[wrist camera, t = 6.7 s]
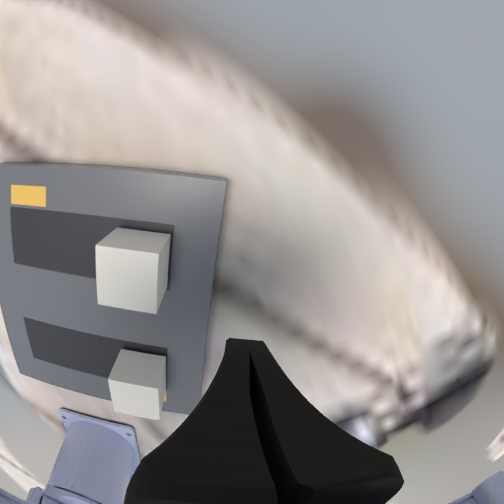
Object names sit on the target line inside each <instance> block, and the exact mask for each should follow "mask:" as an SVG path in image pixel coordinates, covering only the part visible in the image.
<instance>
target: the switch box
mask: <svg viewBox="0 0 504 504" xmlns="http://www.w3.org/2000/svg"><path fill="white" fill-rule="evenodd" d="M226 184H227V178H222V177H215V176H207V175H199V174H191V173H182V172H173V171H164V170H154V169H143V168H132V167H119V166H105V165H89V164H68V163H35V162H4V163H0V305H1V310H2V314H3V318H4V322H5V326H6V330H7V333H8V337H9V340H10V344H11V347H12V350H13V354H14V357H15V360H16V363H17V366H18V369H19V371H20V373H21V374H24V375H26V376H29V377H32V378H34V379H37V380H40V381H43V382H46V383H49V384H52V385H55V386H59V387H62V388H65V389H68V390H72V391H75V392H79V393H83V394H86V395H90V396H94V397H98V398H102V399H106V400H111V401H112V399H111V394H110V389H109V383H108V378H109V375H110V373H111V371H112V368H113V366H114V364H115V361H116V359H117V357H118V355H119V352H120V350H121V349H125V350H130V351H135V352H141V353H147V354H153V355H159V356H166V391H165V396H164V401H163V406H162V410H163V411H169V412H176V413H184V414H191V412H192V411H193V410H194V409H195V407H196V406H197V405H198V403H199V402H200V399H201V388H202V377H203V367H204V357H205V347H206V338H207V329H208V320H209V311H210V302H211V294H212V286H213V278H214V270H215V262H216V254H217V247H218V239H219V232H220V225H221V218H222V211H223V204H224V197H225V190H226ZM116 228H125V229H133V230H141V231H149V232H157V233H165V234H171V238H170V250H169V264H168V280H167V288H166V291H165V293H164V296H163V298H162V301H161V303H160V306H159V309H158V311H157V314H152V313H146V312H140V311H133V310H127V309H122V308H116V307H110V306H105V305H100V304H98V299H97V283H96V253H95V245H96V244H97V243H99V242H100V241H101V240H102V239H103V238H105V237H106V236H107V235H108V234H110V233H111V232H112V231H113V230H115V229H116Z"/></svg>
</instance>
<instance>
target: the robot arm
mask: <svg viewBox="0 0 504 504" xmlns="http://www.w3.org/2000/svg"><path fill="white" fill-rule="evenodd" d="M59 414H60V416H61V419H62V421H63V424H64V426H65V428H66V431H67V434H66V437H65V439H64V442H63V444H62V447H61V449H60V452H59V454H58V457H57V459H56V462H55V464H54V467H53V470H52V473H51V475H50V478H49V481H48V483H47V485H46V487H45V489H44V491H43V489H41V488H40V487H36V488H31V489H30V491H29V494H28V497H27V500H26V501H24V500H22V499H20V498H18V497H16V496H14V495H12V494H10V493H8V492H6V491H4V490H3V489H1V488H0V504H385V503H386V502H387V501H388V500H390V499H391V498H392V497H393V496H394V495H395V494H396V493H397V492H398V491H399V490H400V489H401V488H402V485H403V483H404V480H403V477H402V475H401V473H400V470H399V468H398V466H397V464H396V462H395V460H394V458H393V457H392V456H391V455H388V454H386V453H384V452H382V451H380V450H377V449H375V448H373V447H371V446H369V445H367V444H365V443H363V442H362V441H360V440H358V439H357V438H355V437H353V436H351V435H350V434H348V433H347V432H345V431H344V430H342V429H341V428H340V427H338V426H337V425H335V424H334V423H333V422H331V421H330V420H329V419H328V418H326V417H325V416H324V415H323V414H322V413H320V412H319V411H318V410H317V409H316V408H315V407H314V406H313V405H312V404H311V403H310V402H309V401H308V400H307V399H306V398H305V397H304V396H303V395H302V394H301V393H300V392H299V390H298V389H297V388H296V387H295V386H294V385H293V383H292V382H291V381H290V380H289V378H288V377H287V376H286V374H285V373H284V372H283V370H282V369H281V367H280V366H279V365H278V363H277V362H276V360H275V359H274V357H273V356H272V354H271V352H270V351H269V349H268V348H267V346H266V344H265V343H264V342H263V341H257V340H245V339H235V338H229V339H228V340H226V346H225V353H224V356H223V359H222V362H221V364H220V366H219V369H218V371H217V373H216V375H215V377H214V379H213V381H212V383H211V384H210V386H209V388H208V390H207V391H206V393H205V394H204V396H203V397H202V399H201V400H200V402H199V403H198V405H197V406H196V407H195V409H194V410H193V411H192V412H191V414H190V415H189V416H188V417H187V419H186V420H185V421H184V422H183V423H182V424H181V425H180V426H179V427H178V428H177V429H176V430H175V431H174V432H173V433H172V434H171V435H170V436H169V437H168V438H167V439H166V440H165V441H164V442H163V443H162V444H161V445H159V446H158V447H157V448H156V449H154V450H153V451H152V452H150V453H149V454H148V455H147V456H145V457H144V458H143V459H142V460H141V462H140V457H139V453H138V448H137V443H136V437H135V432H134V429H133V428H132V427H130V426H126V425H122V424H117V423H113V422H109V421H104V420H101V419H97V418H93V417H89V416H86V415H82V414H79V413H75V412H72V411H69V410H65V409H60V411H59ZM133 472H134V473H133ZM42 491H43V493H42ZM449 504H504V472H503V471H499V472H498V473H496V474H494V475H493V476H491V477H489V478H488V479H486V480H485V481H483V482H482V483H481V484H479V485H478V486H477V487H476V488H475V489H474V490H473V491H472V492H471V493H469V494H467V495H465V496H463V497H461V498H459V499H457V500H455V501H454V502H451V503H449Z"/></svg>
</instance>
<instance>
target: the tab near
mask: <svg viewBox="0 0 504 504" xmlns="http://www.w3.org/2000/svg"><path fill="white" fill-rule="evenodd" d="M170 238H171V234H165V233H157V232H149V231H141V230H133V229H125V228H116V229H115V230H113V231H112V232H111V233H110V234H108V235H107V236H106V237H105V238H103V239H102V240H101V241H100V242H99V243H97V244H96V245H95V253H96V283H97V299H98V304H100V305H105V306H110V307H116V308H122V309H127V310H133V311H140V312H146V313H152V314H157V311H158V309H159V306H160V303H161V301H162V298H163V296H164V293H165V291H166V288H167V280H168V264H169V250H170Z"/></svg>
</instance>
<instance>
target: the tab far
mask: <svg viewBox="0 0 504 504" xmlns="http://www.w3.org/2000/svg"><path fill="white" fill-rule="evenodd" d="M108 383H109V389H110V394H111V399H112V404H113V409H114V412H118V413H122V414H127V415H132V416H137V417H142V418H148V419H153V420H159V421H160V417H161V411H162V406H163V401H164V396H165V391H166V356H159V355H153V354H147V353H141V352H135V351H130V350H125V349H121V350H120V352H119V355H118V357H117V359H116V361H115V364H114V366H113V368H112V371H111V373H110V375H109V378H108Z"/></svg>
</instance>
